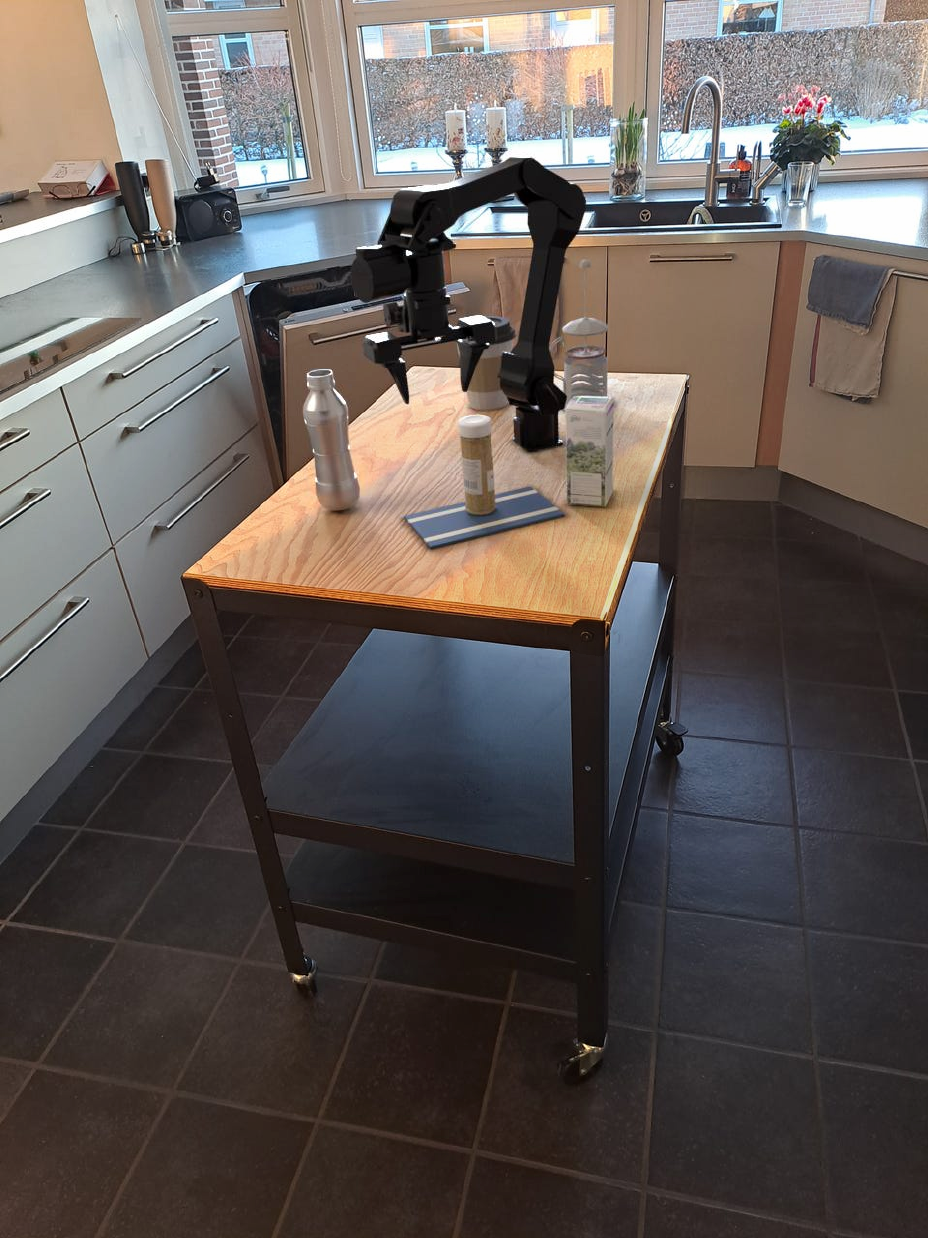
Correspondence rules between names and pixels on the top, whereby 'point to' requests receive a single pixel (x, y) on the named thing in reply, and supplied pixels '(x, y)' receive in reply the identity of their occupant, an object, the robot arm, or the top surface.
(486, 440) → the sprinkles bottle
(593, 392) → the french press
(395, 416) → the top surface
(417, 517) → the tea towel
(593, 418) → the syrup box
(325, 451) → the silver water bottle
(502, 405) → the coffee cup
